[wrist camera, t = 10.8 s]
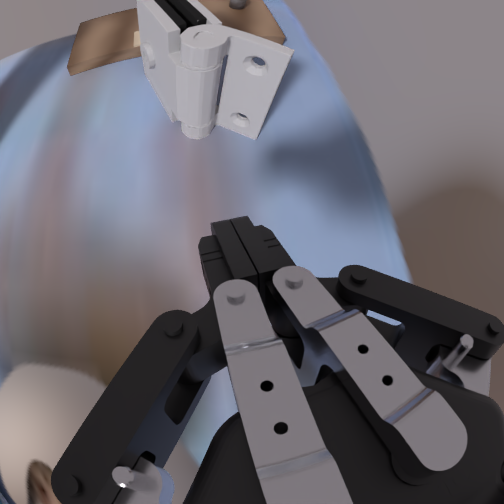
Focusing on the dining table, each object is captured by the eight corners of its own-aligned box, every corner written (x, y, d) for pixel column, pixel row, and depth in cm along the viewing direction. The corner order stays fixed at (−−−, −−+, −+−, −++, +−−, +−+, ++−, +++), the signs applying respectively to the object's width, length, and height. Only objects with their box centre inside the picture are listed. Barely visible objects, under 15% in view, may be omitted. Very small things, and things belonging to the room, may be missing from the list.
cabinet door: (70, 75, 20) (63, 57, 17) (82, 30, 21) (78, 14, 18) (281, 45, 26) (289, 27, 23) (259, 7, 27) (264, -9, 24)
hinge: (261, 136, 23) (299, 53, 13) (214, 170, 21) (229, 84, 12) (169, 56, 23) (169, -21, 13) (125, 81, 21) (109, 2, 12)
